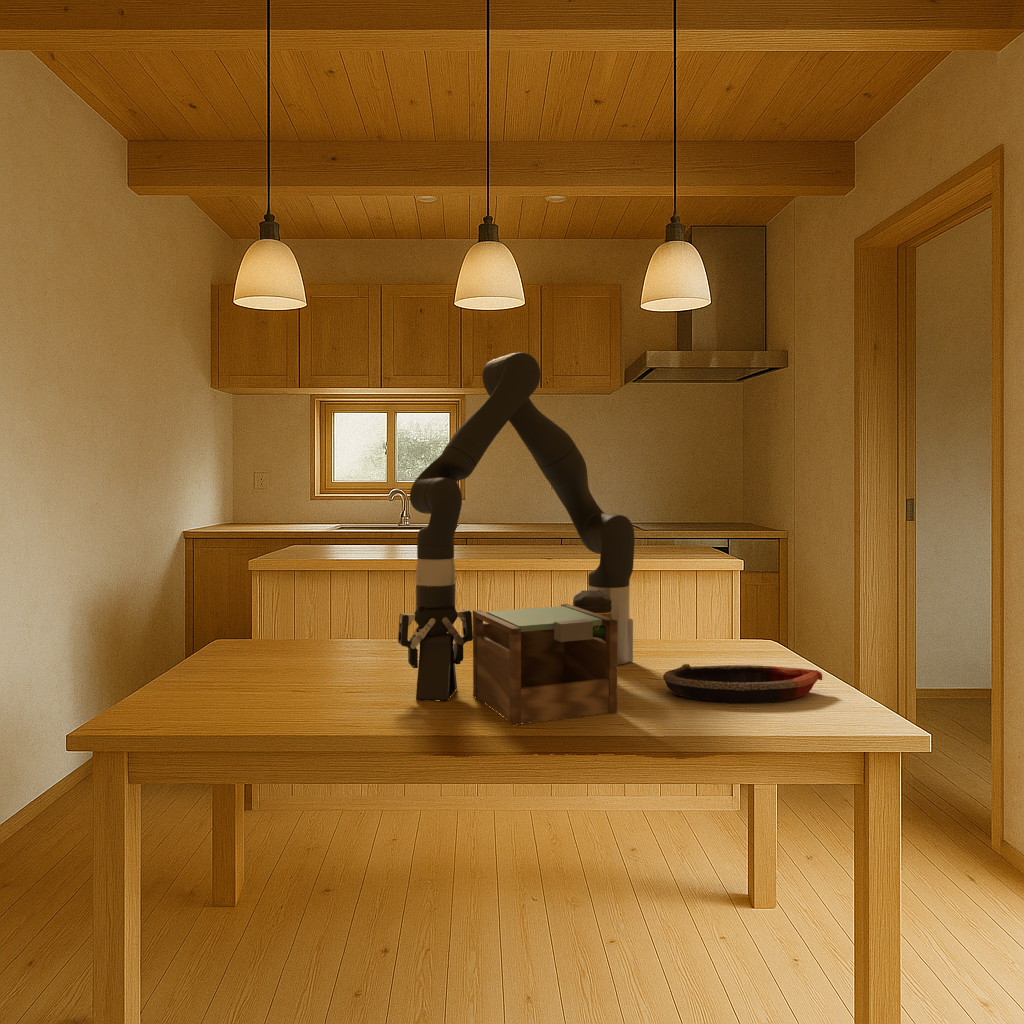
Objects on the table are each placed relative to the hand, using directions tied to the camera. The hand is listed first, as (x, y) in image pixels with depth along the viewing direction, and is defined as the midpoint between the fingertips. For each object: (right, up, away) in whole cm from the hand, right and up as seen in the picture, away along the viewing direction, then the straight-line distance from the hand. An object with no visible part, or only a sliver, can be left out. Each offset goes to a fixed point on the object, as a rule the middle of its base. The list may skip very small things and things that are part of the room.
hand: (435, 665), depth 161 cm
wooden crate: (+20, -6, -7) cm, 22 cm away
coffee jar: (+31, -5, +10) cm, 33 cm away
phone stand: (0, -6, 0) cm, 6 cm away
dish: (+59, -6, 0) cm, 59 cm away
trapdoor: (+21, +8, -10) cm, 25 cm away
